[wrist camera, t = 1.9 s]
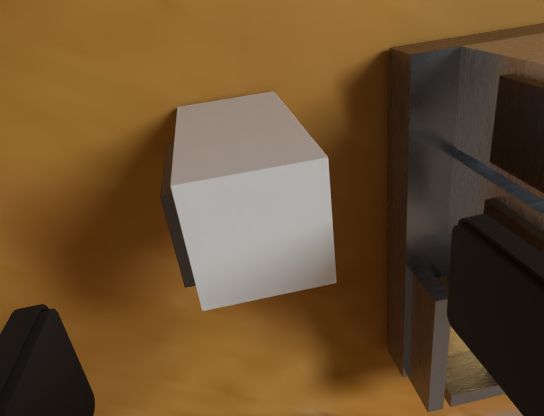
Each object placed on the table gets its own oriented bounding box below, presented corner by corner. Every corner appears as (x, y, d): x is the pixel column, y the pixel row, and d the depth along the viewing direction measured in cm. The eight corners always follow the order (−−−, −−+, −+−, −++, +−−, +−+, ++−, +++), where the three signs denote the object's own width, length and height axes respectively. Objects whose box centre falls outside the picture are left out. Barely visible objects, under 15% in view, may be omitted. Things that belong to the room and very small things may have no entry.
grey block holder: (389, 47, 18) (579, 105, 9) (566, 19, 19) (897, 48, 10) (388, 350, 26) (489, 535, 17) (512, 322, 27) (670, 486, 18)
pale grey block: (167, 108, 18) (154, 189, 11) (273, 91, 18) (328, 157, 11) (188, 196, 20) (188, 314, 13) (284, 178, 20) (336, 283, 13)
